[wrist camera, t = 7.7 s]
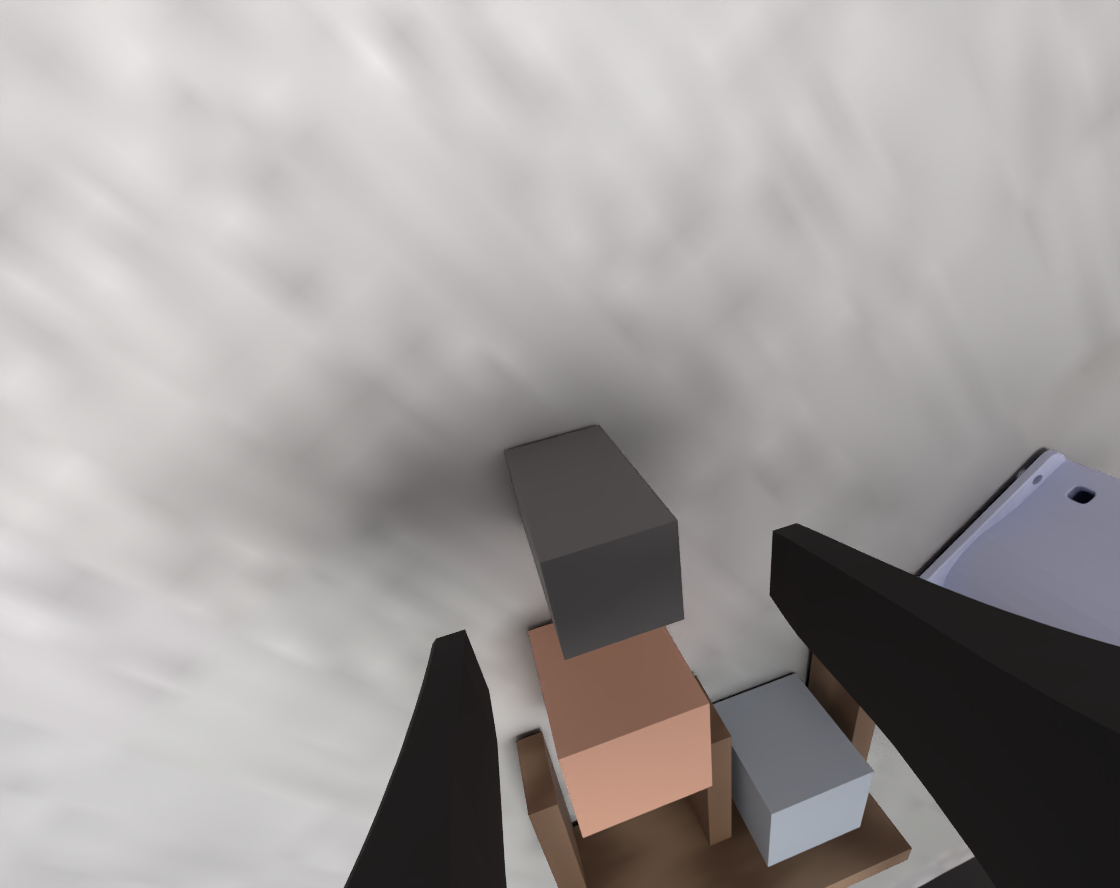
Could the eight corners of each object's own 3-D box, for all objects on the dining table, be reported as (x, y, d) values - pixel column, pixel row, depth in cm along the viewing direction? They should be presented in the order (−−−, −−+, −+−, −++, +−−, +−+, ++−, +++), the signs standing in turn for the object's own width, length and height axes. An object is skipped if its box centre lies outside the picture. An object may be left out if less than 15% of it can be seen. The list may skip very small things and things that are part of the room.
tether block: (624, 417, 15) (714, 508, 10) (654, 670, 21) (719, 800, 17) (476, 458, 15) (498, 575, 10) (550, 707, 21) (587, 854, 16)
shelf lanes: (835, 624, 23) (953, 741, 18) (818, 740, 28) (907, 859, 23) (516, 741, 21) (544, 914, 16) (556, 845, 26) (588, 1005, 20)
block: (795, 673, 25) (874, 771, 20) (790, 728, 27) (860, 826, 22) (709, 705, 24) (771, 814, 19) (711, 759, 26) (767, 867, 22)
